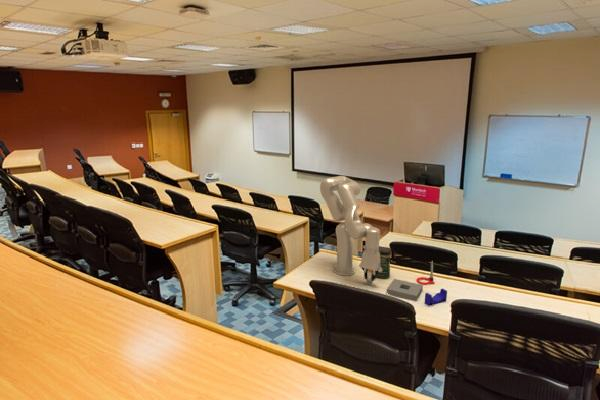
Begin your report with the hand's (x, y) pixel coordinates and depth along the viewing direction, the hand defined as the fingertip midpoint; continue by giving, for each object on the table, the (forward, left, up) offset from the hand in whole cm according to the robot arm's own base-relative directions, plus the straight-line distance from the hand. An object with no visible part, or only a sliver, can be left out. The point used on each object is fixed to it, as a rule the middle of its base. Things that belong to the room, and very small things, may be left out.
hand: (369, 278), depth 212 cm
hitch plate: (+20, +1, -3) cm, 20 cm away
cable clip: (+36, -2, -4) cm, 36 cm away
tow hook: (+27, +19, -4) cm, 33 cm away
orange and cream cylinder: (0, 0, -2) cm, 2 cm away
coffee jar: (+3, +14, -4) cm, 14 cm away
